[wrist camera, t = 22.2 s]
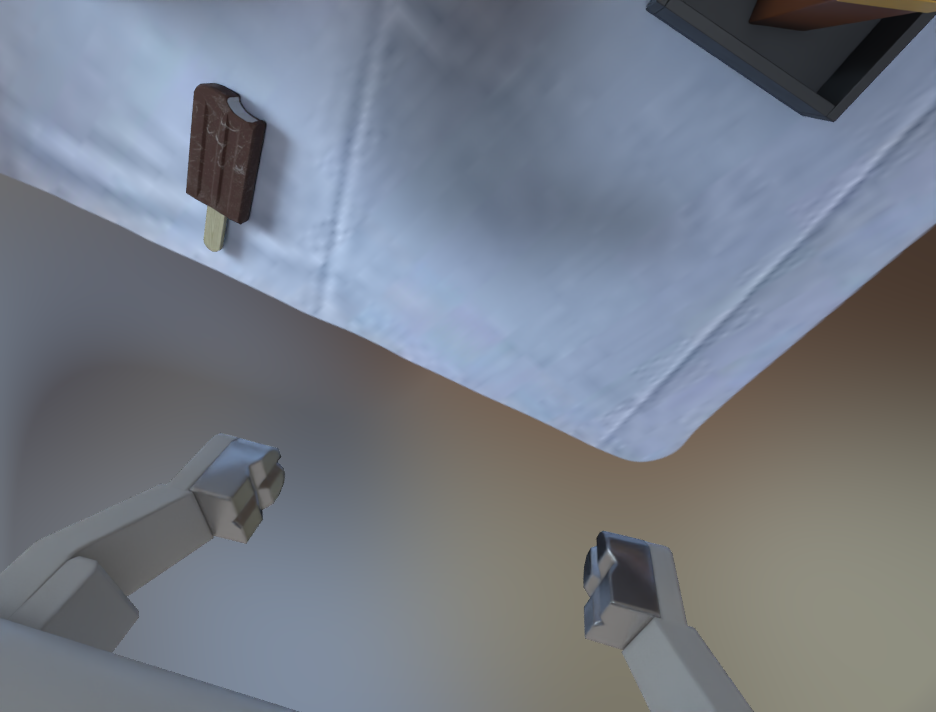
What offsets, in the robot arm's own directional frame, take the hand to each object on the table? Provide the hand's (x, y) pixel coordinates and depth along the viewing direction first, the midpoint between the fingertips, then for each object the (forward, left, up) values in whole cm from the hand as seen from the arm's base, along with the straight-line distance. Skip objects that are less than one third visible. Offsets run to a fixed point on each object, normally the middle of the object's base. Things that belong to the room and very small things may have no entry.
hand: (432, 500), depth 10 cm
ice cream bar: (-25, -12, -29) cm, 40 cm away
